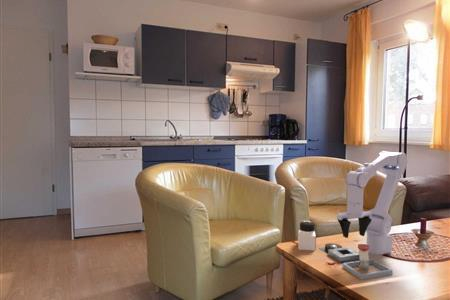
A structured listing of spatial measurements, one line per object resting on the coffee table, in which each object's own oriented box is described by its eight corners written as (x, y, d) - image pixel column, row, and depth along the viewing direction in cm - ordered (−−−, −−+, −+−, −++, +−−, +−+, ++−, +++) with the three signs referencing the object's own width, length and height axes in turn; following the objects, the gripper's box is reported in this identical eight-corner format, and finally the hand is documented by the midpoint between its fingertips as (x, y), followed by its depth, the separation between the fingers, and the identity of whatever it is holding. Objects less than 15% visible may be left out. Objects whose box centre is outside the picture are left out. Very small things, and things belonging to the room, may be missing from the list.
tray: (371, 265, 129) (372, 258, 129) (392, 276, 119) (392, 270, 119) (342, 269, 125) (342, 263, 125) (361, 282, 116) (361, 275, 115)
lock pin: (364, 267, 126) (363, 243, 126) (372, 270, 122) (371, 246, 122) (355, 268, 125) (355, 244, 125) (363, 272, 121) (363, 247, 121)
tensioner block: (338, 247, 147) (338, 241, 146) (363, 262, 131) (363, 255, 131) (318, 250, 144) (318, 243, 144) (341, 265, 129) (341, 258, 128)
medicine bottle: (315, 252, 141) (316, 225, 140) (298, 251, 143) (298, 224, 142) (314, 246, 148) (315, 220, 147) (298, 245, 150) (298, 219, 149)
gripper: (345, 205, 124) (344, 241, 125) (377, 203, 129) (376, 237, 130) (334, 201, 131) (333, 235, 132) (365, 199, 135) (363, 232, 136)
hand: (353, 236), depth 131 cm, fingers open, 7 cm apart
